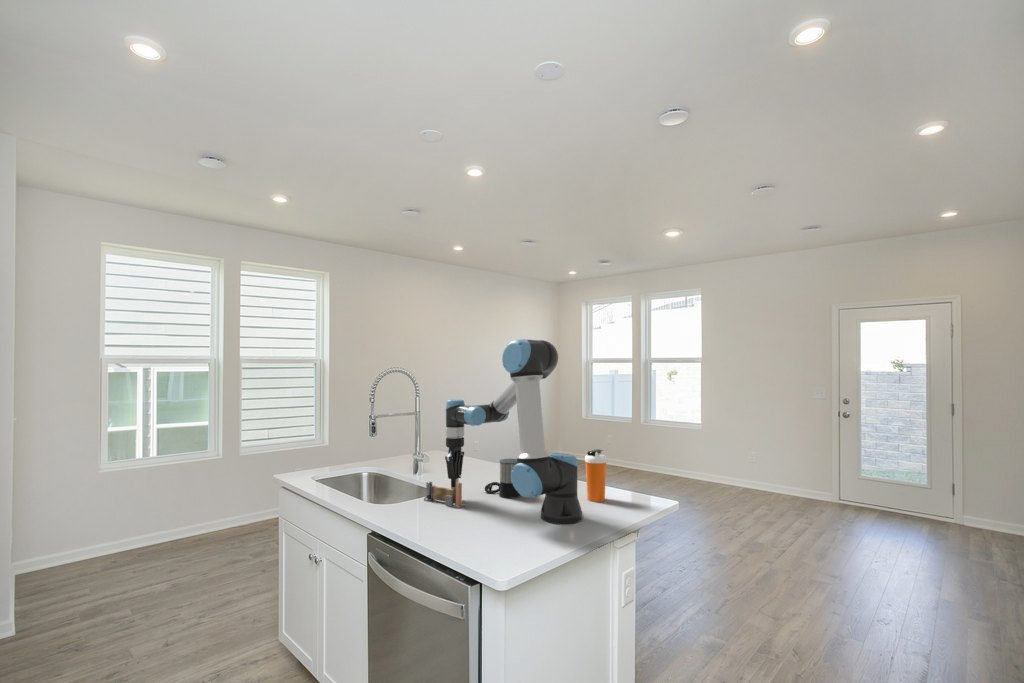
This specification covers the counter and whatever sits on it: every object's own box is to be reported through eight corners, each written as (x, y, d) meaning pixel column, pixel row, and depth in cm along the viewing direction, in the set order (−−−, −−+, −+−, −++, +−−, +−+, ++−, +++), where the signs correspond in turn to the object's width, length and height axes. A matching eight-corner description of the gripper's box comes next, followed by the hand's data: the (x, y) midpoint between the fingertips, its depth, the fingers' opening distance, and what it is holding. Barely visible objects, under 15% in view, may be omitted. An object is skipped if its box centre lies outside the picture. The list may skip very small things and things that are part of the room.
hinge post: (436, 499, 205) (436, 482, 205) (429, 501, 201) (429, 484, 201) (429, 497, 207) (429, 480, 207) (421, 499, 204) (421, 482, 204)
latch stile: (465, 506, 195) (465, 483, 195) (458, 508, 191) (458, 485, 192) (452, 503, 199) (452, 480, 199) (445, 505, 195) (445, 482, 196)
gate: (430, 498, 202) (430, 483, 203) (433, 497, 204) (434, 483, 204) (455, 504, 195) (456, 488, 195) (459, 503, 196) (459, 487, 196)
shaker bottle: (610, 498, 205) (609, 450, 206) (602, 503, 198) (601, 453, 199) (590, 495, 210) (590, 448, 211) (581, 500, 203) (581, 451, 203)
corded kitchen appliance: (520, 498, 206) (520, 462, 206) (482, 498, 206) (482, 462, 206) (520, 490, 220) (520, 456, 220) (485, 489, 220) (485, 456, 221)
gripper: (454, 434, 213) (454, 489, 212) (439, 438, 201) (438, 497, 200) (470, 435, 210) (469, 491, 209) (455, 439, 198) (455, 499, 197)
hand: (454, 494), depth 204 cm, fingers closed
